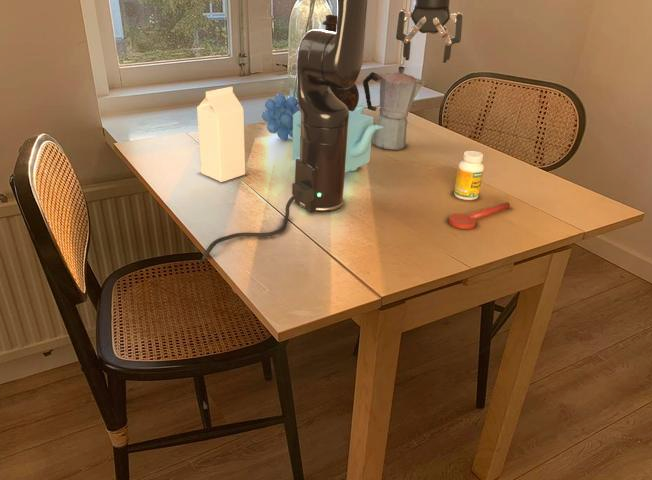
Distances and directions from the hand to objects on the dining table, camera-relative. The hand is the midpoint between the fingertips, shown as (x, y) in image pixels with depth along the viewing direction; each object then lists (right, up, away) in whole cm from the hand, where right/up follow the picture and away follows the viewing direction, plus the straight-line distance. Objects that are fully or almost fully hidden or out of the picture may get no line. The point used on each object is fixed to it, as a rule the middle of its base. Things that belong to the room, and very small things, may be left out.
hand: (426, 60), depth 134 cm
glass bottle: (-22, -2, +39) cm, 45 cm away
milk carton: (-46, -26, -1) cm, 53 cm away
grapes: (-34, -13, +20) cm, 42 cm away
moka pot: (-6, -15, +21) cm, 26 cm away
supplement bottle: (+8, -32, -6) cm, 33 cm away
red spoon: (+9, -38, -14) cm, 41 cm away
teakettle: (-21, -24, +4) cm, 32 cm away
